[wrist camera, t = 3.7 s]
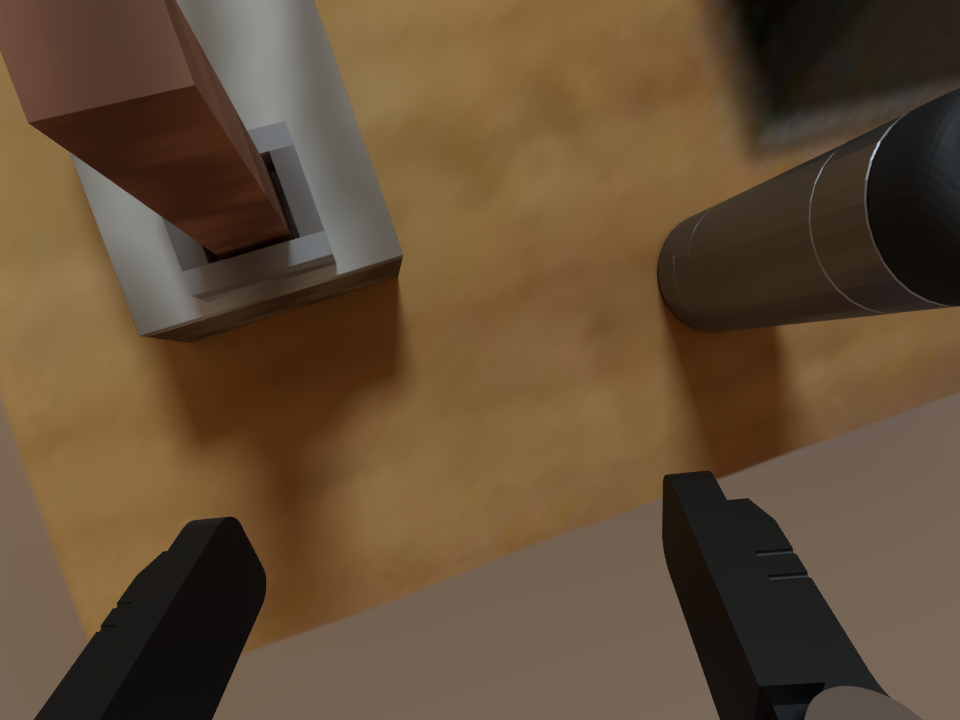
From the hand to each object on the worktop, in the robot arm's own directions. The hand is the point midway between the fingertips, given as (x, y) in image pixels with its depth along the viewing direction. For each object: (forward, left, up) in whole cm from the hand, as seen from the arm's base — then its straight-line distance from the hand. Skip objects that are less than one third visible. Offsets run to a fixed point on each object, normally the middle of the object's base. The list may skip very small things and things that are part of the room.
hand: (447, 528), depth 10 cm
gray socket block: (+4, -18, -26) cm, 32 cm away
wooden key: (+4, -13, -19) cm, 24 cm away
